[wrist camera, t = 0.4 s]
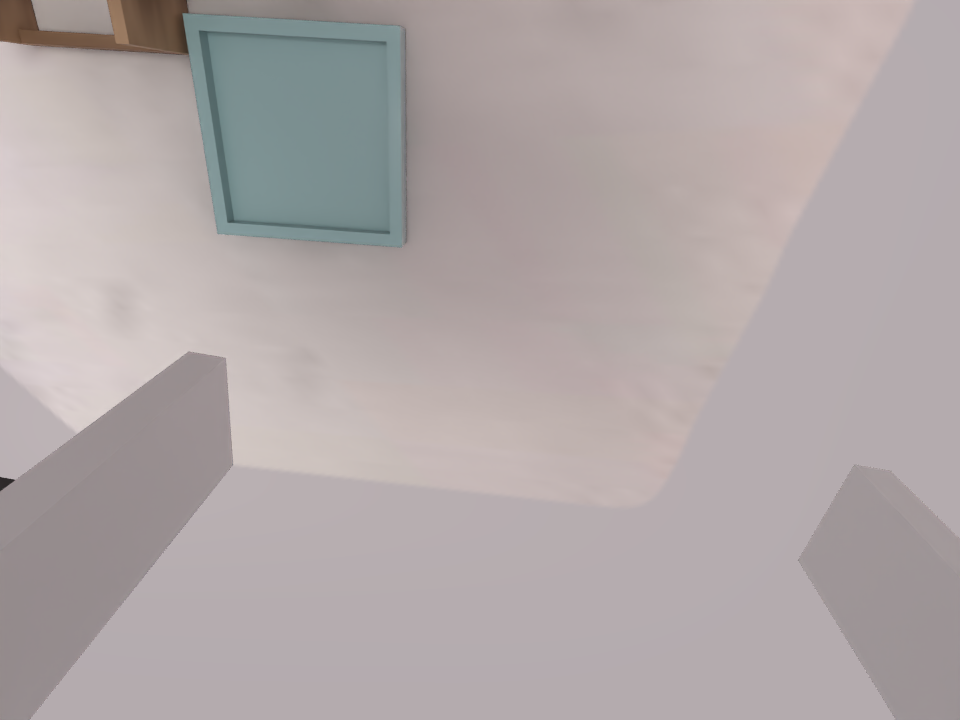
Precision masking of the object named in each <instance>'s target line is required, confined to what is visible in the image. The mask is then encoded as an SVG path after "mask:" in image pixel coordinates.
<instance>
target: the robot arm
mask: <svg viewBox="0 0 960 720" xmlns="http://www.w3.org/2000/svg"><path fill="white" fill-rule="evenodd" d="M232 466H233V456H232V441H231V427H230V412H229V398H228V383H227V369H226V358H223V357H217V356H212V355H206V354H200V353H194V352H188V353H186V354H185V355H184V356H182V357H181V358H179V359H178V360H177V361H175V362H174V363H173V364H171V365H170V366H169V367H167V368H166V369H165V370H163V371H162V372H161V373H159V374H158V375H157V376H155V377H154V378H153V379H151V380H150V381H148V382H147V383H146V384H144V385H143V386H142V387H140V388H139V389H138V390H136V391H135V392H134V393H132V394H131V395H130V396H128V397H127V398H126V399H124V400H123V401H121V402H120V403H119V404H117V405H116V406H115V407H113V408H112V409H111V410H109V411H108V412H107V413H105V414H104V415H103V416H101V417H100V418H99V419H97V420H96V421H95V422H93V423H92V424H90V425H89V426H88V427H86V428H85V429H84V430H82V431H81V432H80V433H78V434H77V435H76V436H74V437H73V438H72V439H70V440H69V441H68V442H66V443H65V444H64V445H62V446H61V447H59V448H58V449H57V450H55V451H54V452H53V453H52V454H50V455H49V456H47V457H46V458H45V459H43V460H42V461H41V462H39V463H38V464H37V465H35V466H34V467H33V468H31V469H30V470H28V471H27V472H26V473H24V474H23V475H22V476H20V477H19V478H18V479H16V480H13V479H7V478H2V477H0V720H30V719H31V717H32V716H33V715H34V714H35V712H36V711H37V710H38V709H39V707H40V706H41V705H42V703H43V702H44V701H45V700H46V699H47V697H48V696H49V695H50V694H51V692H52V691H53V690H54V688H55V687H56V686H57V685H58V684H59V682H60V681H61V680H62V679H63V677H64V676H65V675H66V674H67V672H68V671H69V670H70V669H71V667H72V666H73V665H74V664H75V662H76V661H77V660H78V658H79V657H80V656H81V655H82V653H83V652H84V651H85V650H86V649H87V647H88V646H89V645H90V643H91V642H92V641H93V640H94V638H95V637H96V636H97V634H98V633H99V632H100V631H101V630H102V628H103V627H104V626H105V625H106V623H107V622H108V621H109V620H110V618H111V617H112V616H113V615H114V613H115V612H116V611H117V610H118V608H119V607H120V606H121V605H122V603H123V602H124V601H125V600H126V598H127V597H128V596H129V595H130V593H131V592H132V591H133V590H134V588H135V587H136V586H137V585H138V583H139V582H140V581H141V580H142V578H143V577H144V576H145V575H146V573H147V572H148V571H149V570H150V568H151V567H152V566H153V565H154V563H155V562H156V561H157V560H158V558H159V557H160V556H161V554H162V553H163V552H164V551H165V549H166V548H167V547H168V546H169V545H170V543H171V542H172V541H173V539H174V538H175V537H176V536H177V535H178V533H179V532H180V531H181V530H182V528H183V527H184V526H185V525H186V523H187V522H188V521H189V520H190V518H191V517H192V516H193V515H194V513H195V512H196V511H197V509H198V508H199V507H200V506H201V505H202V503H203V502H204V501H205V500H206V498H207V497H208V496H209V494H210V493H211V492H212V491H213V489H214V488H215V487H216V486H217V484H218V483H219V482H220V481H221V479H222V478H223V477H224V476H225V475H226V473H227V472H228V471H229V470H230V468H231V467H232ZM798 561H799V563H800V564H801V566H802V568H803V569H804V571H805V572H806V574H807V576H808V577H809V579H810V580H811V582H812V584H813V585H814V587H815V589H816V590H817V592H818V594H819V595H820V597H821V598H822V600H823V602H824V603H825V605H826V607H827V608H828V610H829V612H830V613H831V615H832V616H833V618H834V620H835V621H836V623H837V625H838V626H839V628H840V630H841V631H842V633H843V634H844V636H845V638H846V639H847V641H848V643H849V644H850V646H851V647H852V649H853V651H854V652H855V654H856V656H857V657H858V659H859V661H860V662H861V664H862V665H863V667H864V669H865V670H866V672H867V674H868V675H869V677H870V678H871V680H872V682H873V683H874V685H875V687H876V688H877V690H878V692H879V693H880V695H881V696H882V698H883V700H884V701H885V703H886V704H887V706H888V708H889V709H890V711H891V712H892V714H893V716H894V718H895V719H896V720H960V539H959V537H957V536H956V535H955V534H954V533H953V532H952V531H951V530H950V529H949V528H948V527H947V526H946V525H945V524H944V523H943V522H942V521H941V520H940V519H939V518H938V517H937V516H936V515H935V514H934V513H933V512H932V511H931V510H930V509H929V508H928V507H927V506H926V505H925V504H924V503H923V502H922V501H921V500H920V499H919V498H918V497H917V496H916V495H915V494H914V493H913V492H912V491H910V489H909V488H908V487H906V485H904V484H903V482H901V481H900V479H898V478H897V477H896V476H895V475H894V474H893V473H892V472H891V471H889V470H883V469H877V468H871V467H865V466H859V465H854V466H853V468H852V469H851V471H850V473H849V474H848V476H847V478H846V480H845V481H844V483H843V485H842V486H841V488H840V490H839V492H838V493H837V495H836V496H835V499H834V500H833V502H832V503H831V505H830V507H829V508H828V510H827V512H826V514H825V515H824V517H823V519H822V520H821V522H820V524H819V525H818V527H817V529H816V531H815V532H814V534H813V535H812V537H811V539H810V541H809V542H808V544H807V546H806V547H805V549H804V551H803V552H802V554H801V556H800V558H799V559H798Z"/></svg>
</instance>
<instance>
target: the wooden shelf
mask: <svg viewBox="0 0 960 720" xmlns="http://www.w3.org/2000/svg"><path fill="white" fill-rule="evenodd" d="M107 3H108V7H109V12H110V17H111V22H112V26H113V31H114V35H102V34H86V33H69V32H52V31H39V30H38V26H37V23H36V19H35V15H34V11H33V7H32V4H31V0H0V41H3V42H11V43H18V44H26V45H34V46H51V47H67V48H83V49H100V50H116V51H132V52H149V53H165V54H181V55H189V51H188V45H187V39H186V32H185V26H184V20H183V14H182V13H188V9H187V2H186V0H107Z"/></svg>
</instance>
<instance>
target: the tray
mask: <svg viewBox="0 0 960 720" xmlns="http://www.w3.org/2000/svg"><path fill="white" fill-rule="evenodd" d="M182 14H183V20H184V26H185V32H186V39H187V45H188V51H189V57H190V64H191V70H192V76H193V82H194V89H195V95H196V101H197V107H198V114H199V120H200V126H201V132H202V139H203V145H204V151H205V158H206V164H207V170H208V176H209V183H210V189H211V195H212V201H213V208H214V214H215V220H216V226H217V233H218V234H226V235H240V236H253V237H267V238H280V239H294V240H308V241H321V242H335V243H348V244H362V245H375V246H389V247H403V246H404V244H405V243H406V48H405V29H404V28H403V27H401V26H394V25H377V24H360V23H343V22H326V21H309V20H291V19H274V18H257V17H240V16H223V15H206V14H189V13H182Z"/></svg>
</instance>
